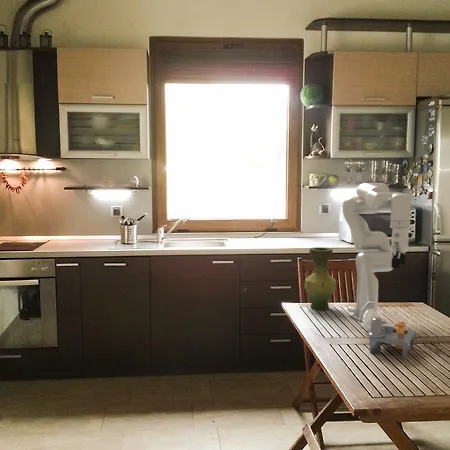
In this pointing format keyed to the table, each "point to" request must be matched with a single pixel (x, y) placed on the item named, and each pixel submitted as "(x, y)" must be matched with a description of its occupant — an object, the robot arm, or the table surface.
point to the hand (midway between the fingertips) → (398, 266)
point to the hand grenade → (368, 315)
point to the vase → (320, 280)
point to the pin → (400, 331)
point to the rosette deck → (388, 336)
